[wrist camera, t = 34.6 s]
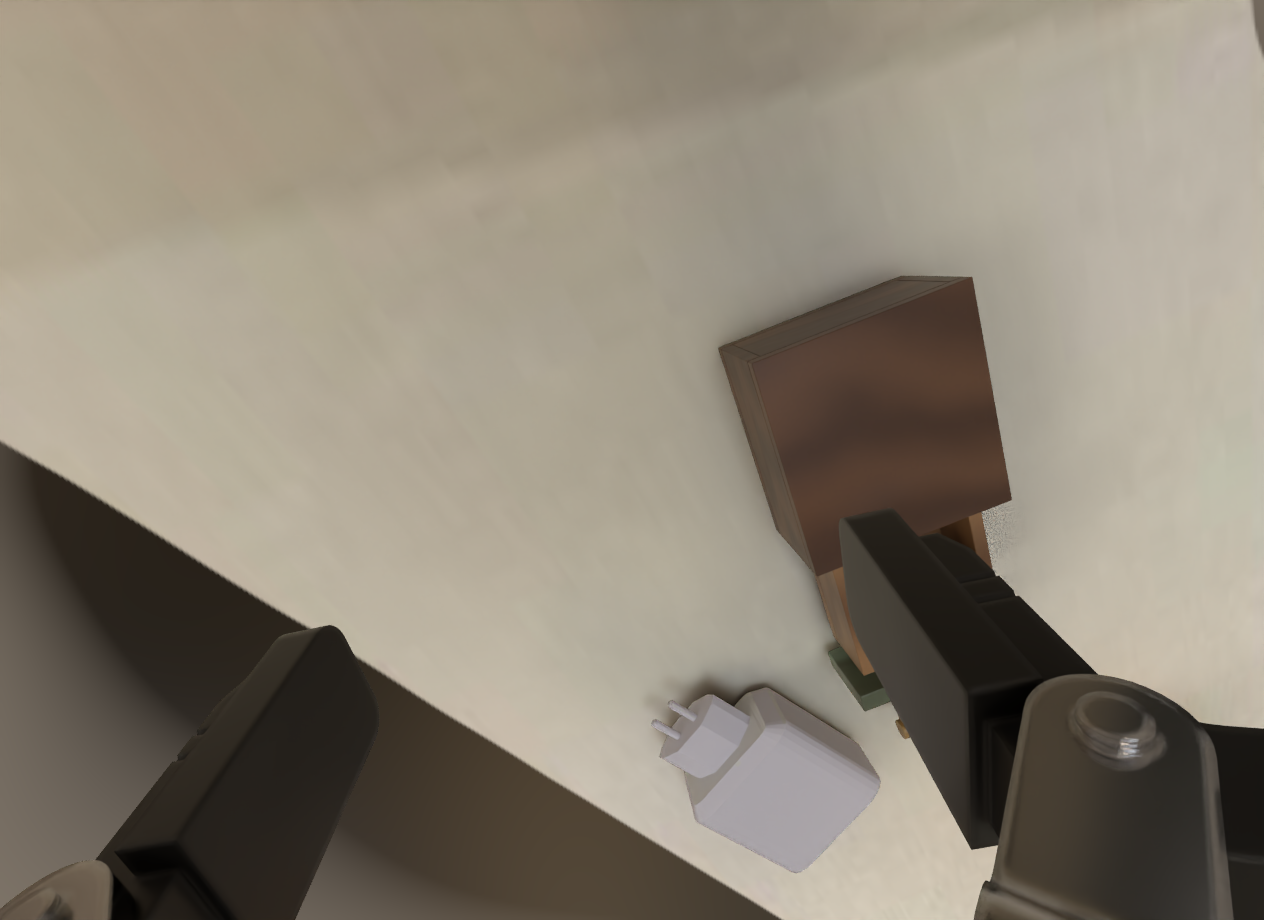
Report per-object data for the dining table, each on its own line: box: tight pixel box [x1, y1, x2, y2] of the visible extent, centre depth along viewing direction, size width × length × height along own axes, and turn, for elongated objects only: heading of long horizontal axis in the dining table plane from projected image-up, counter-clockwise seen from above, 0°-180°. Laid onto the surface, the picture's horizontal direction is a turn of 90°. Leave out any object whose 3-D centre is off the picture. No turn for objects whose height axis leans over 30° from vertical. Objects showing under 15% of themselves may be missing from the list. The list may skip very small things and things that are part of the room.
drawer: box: [815, 512, 993, 739], centre depth 39 cm, size 16×10×5 cm, turn 21°
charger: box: [651, 688, 880, 873], centre depth 42 cm, size 5×9×15 cm
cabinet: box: [719, 276, 1012, 577], centre depth 35 cm, size 12×11×6 cm
